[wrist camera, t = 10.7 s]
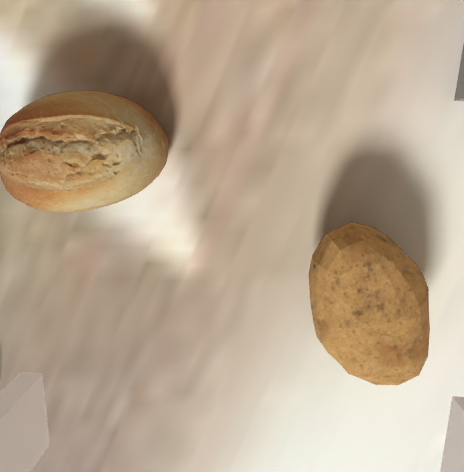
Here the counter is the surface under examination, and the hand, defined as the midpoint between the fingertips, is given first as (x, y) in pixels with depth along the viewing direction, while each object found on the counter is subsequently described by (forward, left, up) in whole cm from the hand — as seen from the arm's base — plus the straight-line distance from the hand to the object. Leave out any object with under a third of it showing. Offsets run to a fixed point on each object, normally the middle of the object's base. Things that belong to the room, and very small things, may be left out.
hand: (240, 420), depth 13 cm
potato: (+9, -4, -26) cm, 28 cm away
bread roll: (-16, +7, -26) cm, 32 cm away
